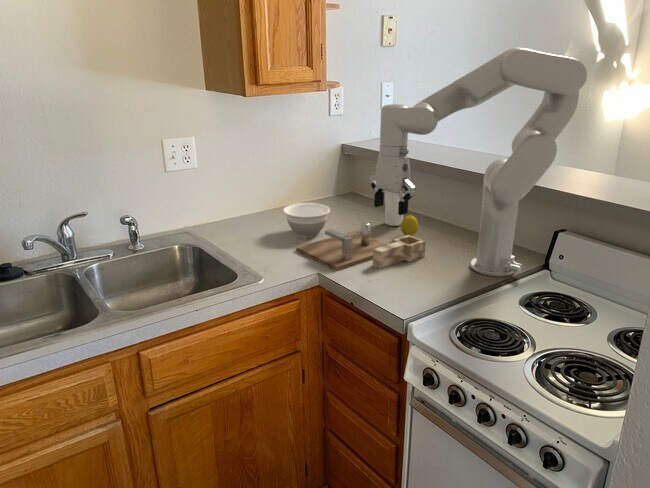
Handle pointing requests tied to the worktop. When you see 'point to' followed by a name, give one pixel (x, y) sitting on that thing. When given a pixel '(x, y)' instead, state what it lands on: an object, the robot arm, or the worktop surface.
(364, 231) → the ball
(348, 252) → the bracket
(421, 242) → the link
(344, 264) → the board
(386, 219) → the cup
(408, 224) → the lemon
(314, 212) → the bowl
